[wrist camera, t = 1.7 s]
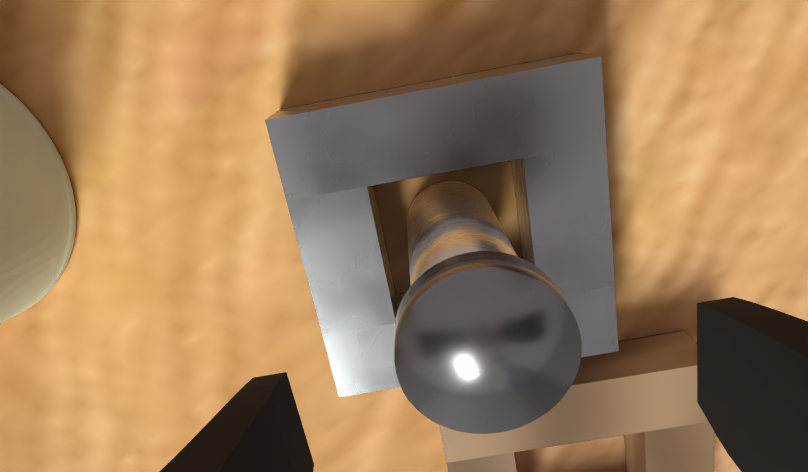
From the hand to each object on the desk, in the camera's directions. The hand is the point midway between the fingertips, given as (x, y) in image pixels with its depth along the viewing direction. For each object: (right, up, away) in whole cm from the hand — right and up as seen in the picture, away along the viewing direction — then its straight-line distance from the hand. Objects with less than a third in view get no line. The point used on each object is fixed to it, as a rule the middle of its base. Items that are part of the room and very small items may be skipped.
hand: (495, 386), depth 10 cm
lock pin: (0, +3, +9) cm, 9 cm away
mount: (0, +3, +8) cm, 9 cm away
